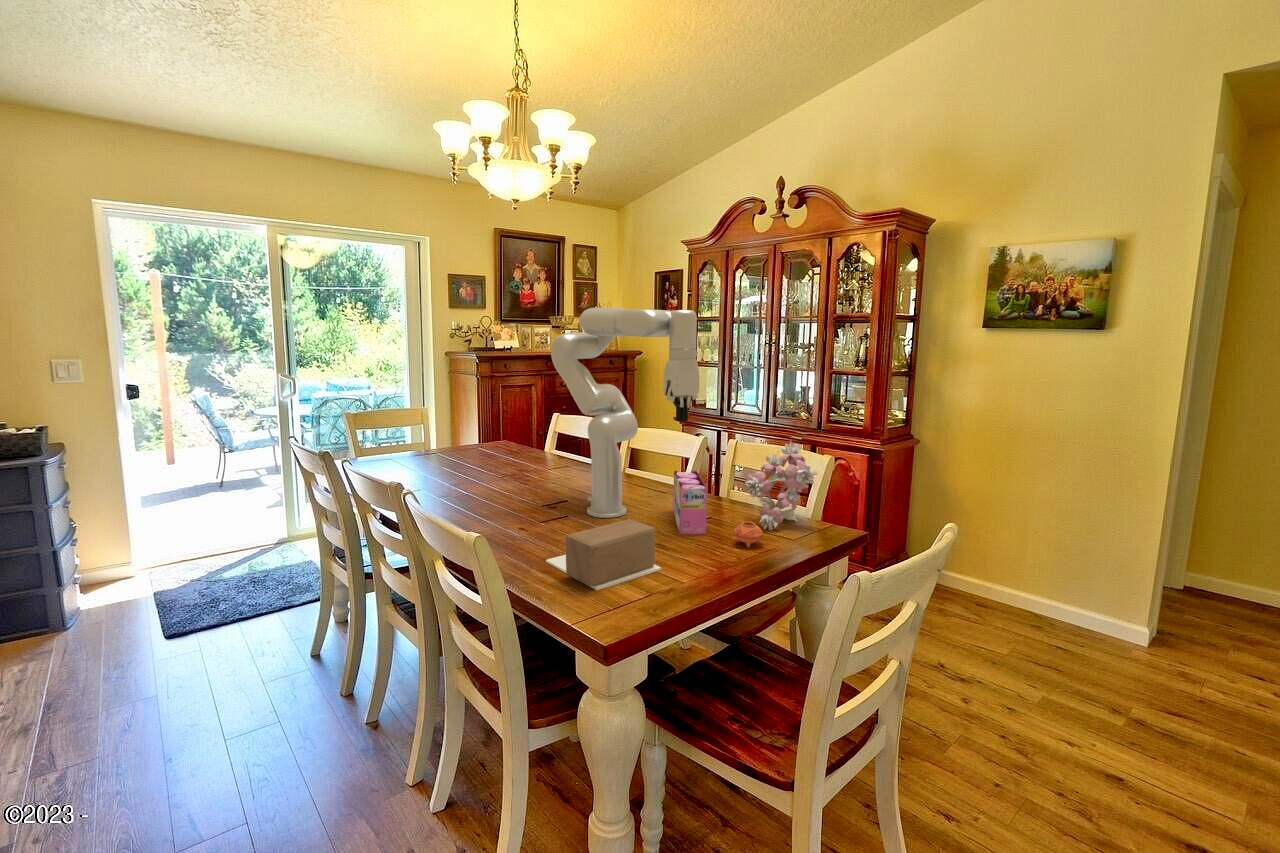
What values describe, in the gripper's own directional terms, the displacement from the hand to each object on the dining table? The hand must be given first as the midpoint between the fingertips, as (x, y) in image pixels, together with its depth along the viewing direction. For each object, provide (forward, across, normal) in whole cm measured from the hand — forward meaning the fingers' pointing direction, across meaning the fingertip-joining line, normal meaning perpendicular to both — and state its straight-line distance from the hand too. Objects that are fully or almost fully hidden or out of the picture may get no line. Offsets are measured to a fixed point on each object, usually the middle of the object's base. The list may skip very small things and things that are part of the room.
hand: (681, 420), depth 172 cm
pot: (+32, -6, +20) cm, 39 cm away
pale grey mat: (+32, +34, +8) cm, 47 cm away
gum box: (+32, -7, -4) cm, 33 cm away
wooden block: (+26, +24, +13) cm, 38 cm away
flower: (+32, -26, +14) cm, 44 cm away
